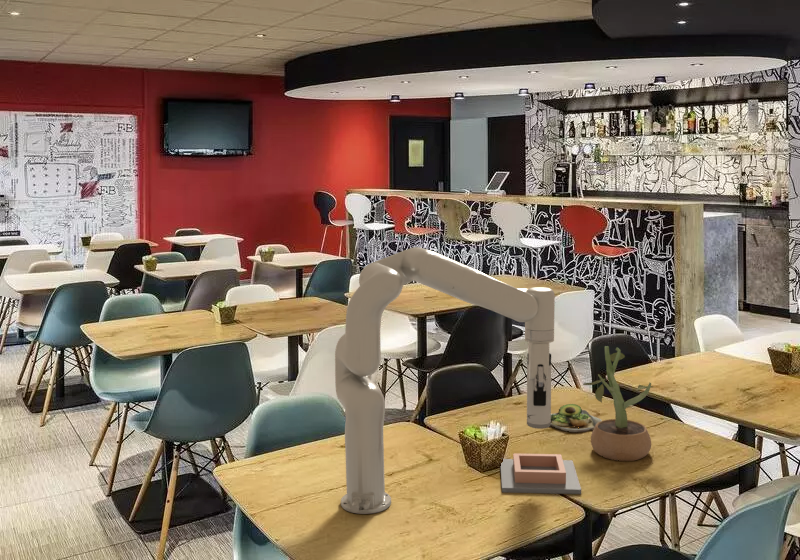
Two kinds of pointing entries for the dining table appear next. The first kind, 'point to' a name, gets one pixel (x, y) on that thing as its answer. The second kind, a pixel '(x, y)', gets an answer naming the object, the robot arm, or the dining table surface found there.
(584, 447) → the dining table surface
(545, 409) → the travel mug
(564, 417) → the salad plate
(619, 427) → the potted plant
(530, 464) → the collar plate
